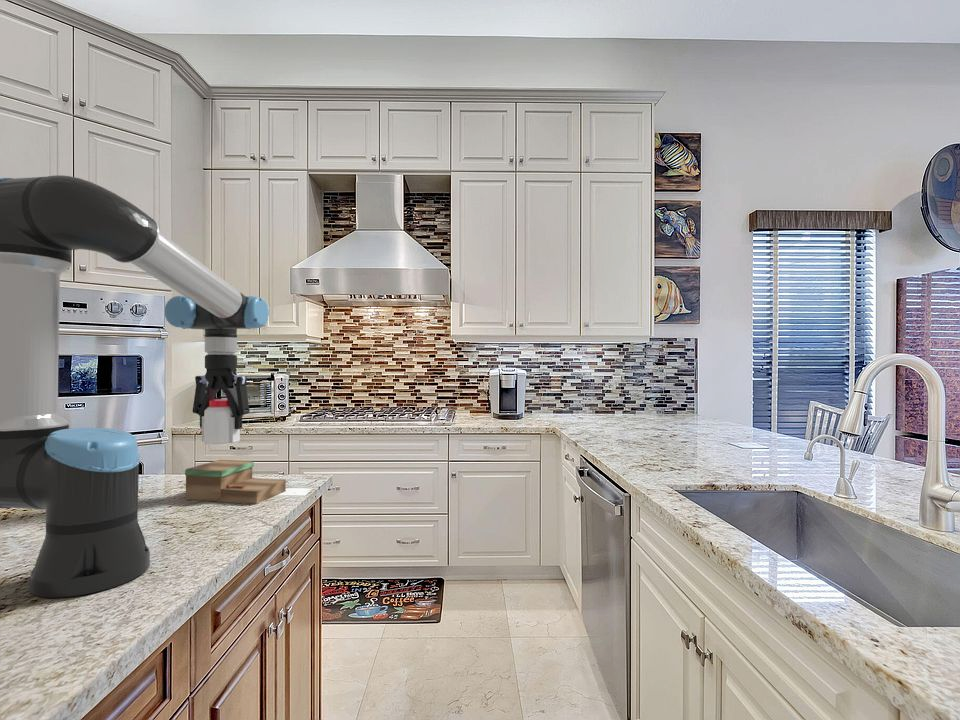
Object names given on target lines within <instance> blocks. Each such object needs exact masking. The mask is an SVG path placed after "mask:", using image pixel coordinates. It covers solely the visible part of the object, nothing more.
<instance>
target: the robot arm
mask: <svg viewBox="0 0 960 720" xmlns="http://www.w3.org/2000/svg"><path fill="white" fill-rule="evenodd" d="M77 250H84V251H85V250H86V251H92V252H97V253H100V254H103V255H106V256H108V257H110V258H112V260H115V261H117V262H119V263H123V264H127V263H128V264H129V263H130V264H132V265H133V266H136V267H137V268H138V269H140V270H142V271H143V272H145V273H147V274H148V275H150V276H152V277H153V278H155V279H156V280H158V281H160V282H161V283H162V284H165V285H166V286H168V287H169V288H171V289H173V290H174V291H175V292H177V293H178V294H180V295H175V296H172V297H171V298H170V299H168V301H167V302H166V304H165V306H164V316H165V320H166V321H167V322H168V324H170V325H171V326H173V327H174V328H175V327H176V328H180V329H184V330H185V329H190V330H204V353H207V354H206V355H204V369H206V371H205V374H204V375H196V376H195V378H194V380H195V390H194V397H193V405H192V413H193V414H196V415H198V416H199V427H200V429H201V442H204V410H205V409H206V408H207V407H210V406H209V400H216V396H217V394H218V392H220V390H222V392H223V394H225V397H226V399H227V400H228V402H229V405H230V408H231V411H232V414H233V415H232V417H230V443H229V444H233V442H234V443H238V442H240V441H241V429H242V428H243V417H244V416H245V415H247V414H249V413H250V405H249V404H250V403H249V397H248V389H247V382H248V377H247V376H246V375H238V374H237V371H236V370H237V368H238V356H237V355H236V353H237V352H238V334H237V333H238V330H239V329H240V330H251V329H261V328H263V327H264V326H266V324H268V320H269V317H270V309H269V305H268V304H267V302H266V300H265V299H264V298H263V297H260V296H254V295H249V296H246V295H245V294H243V293H241V292H240V291H239V290H238V289H236V288H235V287H234V286H232V285H231V284H229V283H228V282H227V281H226V280H225V279H224V278H222V277H221V276H220V275H218V274H216V273H215V272H214V271H213V270H211V269H210V268H209V267H208V266H206V265H205V264H203V263H202V262H201V261H200V260H198V259H197V258H196V257H194V256H193V255H192V254H190V253H189V252H187V250H185V249H183V248H182V247H181V246H180V245H178V244H177V243H176V242H174V241H173V240H172V239H171V238H169V237H168V236H167V235H166V234H164V233H163V232H161V231H160V228H159V225H158V222H157V221H156V220H154V219H153V218H152V217H151V216H150V215H148V214H147V213H146V212H145V211H143V210H141V209H140V208H139V207H137V206H136V205H135V204H133V203H132V202H130V201H128V200H127V199H125V198H124V197H121V196H120V195H118V194H116V193H115V192H114V191H111V190H109V189H107V188H105V187H103V186H100V184H96V183H94V182H92V181H88V180H85V179H83V178H79V177H75V176H71V175H59V174H58V175H55V174H54V175H49V176H38V177H37V176H35V177H20V178H19V177H17V178H13V177H1V178H0V509H26V510H27V509H28V510H43V511H44V510H45V536H44V540H43V543H42V545H41V547H40V550H39V552H38V555H37V558H36V562H35V565H34V567H33V568H32V570H31V572H30V575H29V592H30V593H31V594H32V595H34V596H36V597H40V598H57V599H58V598H68V597H69V598H70V597H76V596H81V595H88V594H93V593H97V592H101V591H104V590H108V589H111V588H114V587H118V586H121V585H122V584H126V583H128V582H130V581H132V580H134V579H137V578H138V577H139V576H141V575H143V574H144V573H145V572H146V571H147V570H148V569H149V568H150V566H151V564H150V563H151V552H150V548H149V547H148V546H147V543H146V540H145V537H144V534H143V532H142V530H141V529H142V528H141V526H140V524H139V518H138V514H139V513H138V508H139V505H138V504H139V475H140V474H139V471H140V455H139V449H138V441H137V438H136V437H135V435H133V434H132V433H130V432H128V431H125V430H122V429H115V428H108V427H107V428H106V427H99V428H98V427H70V422H69V421H68V420H67V419H65V418H64V417H62V416H61V415H60V414H59V412H58V410H59V408H58V407H59V405H58V403H59V353H60V347H59V346H60V345H59V344H60V343H59V341H60V340H59V339H60V294H61V293H60V290H61V288H60V287H61V286H60V284H61V275H62V274H63V273H64V272H66V271H67V270H68V269H70V268H71V267H72V260H73V259H72V256H73V255H72V252H73V251H77Z"/></svg>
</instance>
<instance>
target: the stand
mask: <svg viewBox="0 0 960 720" xmlns="http://www.w3.org/2000/svg"><path fill="white" fill-rule="evenodd" d="M254 465H255V464H254V461H252V460H251V461H250V460H235V459H234V460H233V459H232V460H231V459H218V460H215V461H211V462H206V463H203V464H200V465H196V466H193V467H189V468H186V469H185V470H184V475H185V499H186V500H194V499H196V500H197V501H211V502H223V503H225V502H226V503H239V504H254V505H256V504H257V505H258V504H259V503H262V502H264V501H267V500H269V499H271V498H273V497H275V496H278V495H280V494H282V493H284V492H286V487H287V486H286V483H287V482H286V479H280V478H279V479H275V478H259V477H253V468H254V467H255V466H254Z"/></svg>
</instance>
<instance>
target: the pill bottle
mask: <svg viewBox="0 0 960 720" xmlns="http://www.w3.org/2000/svg"><path fill="white" fill-rule="evenodd" d="M209 406H210V407H207V408H206V409H205V410H204V441H203V443H204V444H205V445H226V444H227V445H229V444H231V443H230V417H232V415H233V414H232V411H231V408H230V405H229V402H228V400H227V398H221V399H219V398H218V399H216V398H215V399H214V400H209ZM233 443H235V442H233ZM233 443H232V444H233Z"/></svg>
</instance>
